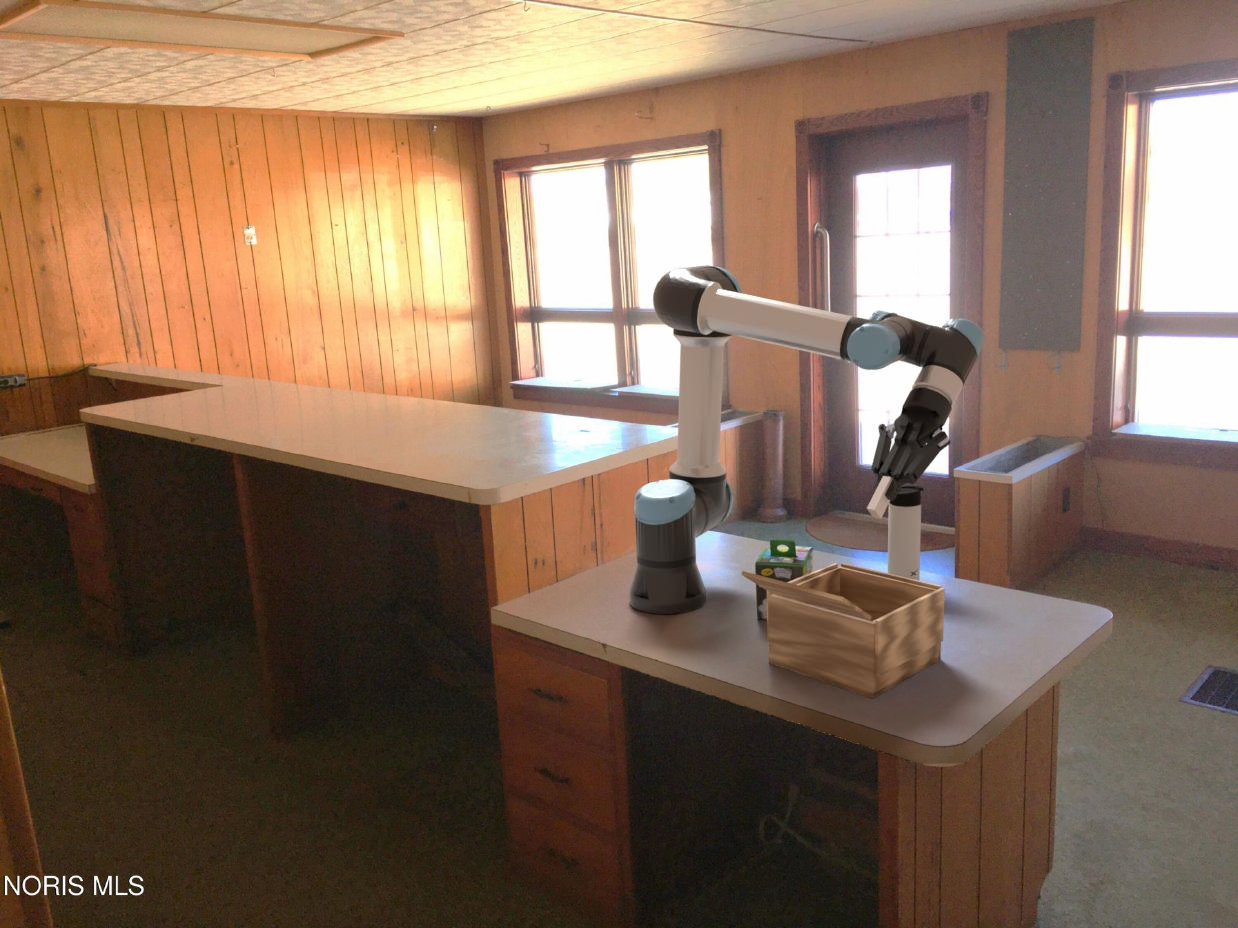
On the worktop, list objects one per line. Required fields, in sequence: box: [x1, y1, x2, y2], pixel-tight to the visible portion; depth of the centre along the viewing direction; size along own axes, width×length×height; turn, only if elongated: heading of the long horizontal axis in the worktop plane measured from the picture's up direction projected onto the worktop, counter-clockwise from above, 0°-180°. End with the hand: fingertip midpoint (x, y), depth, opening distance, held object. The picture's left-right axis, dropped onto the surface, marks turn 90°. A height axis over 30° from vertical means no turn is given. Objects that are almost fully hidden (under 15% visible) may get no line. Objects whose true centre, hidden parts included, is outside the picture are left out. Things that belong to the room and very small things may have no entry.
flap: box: [740, 570, 872, 620], centre depth 153 cm, size 1×19×9 cm
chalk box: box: [754, 539, 811, 621], centre depth 187 cm, size 9×9×15 cm
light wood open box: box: [766, 562, 946, 699], centre depth 164 cm, size 21×21×12 cm
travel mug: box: [887, 485, 924, 580], centre depth 201 cm, size 6×7×20 cm
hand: (873, 513), depth 163 cm, fingers closed
